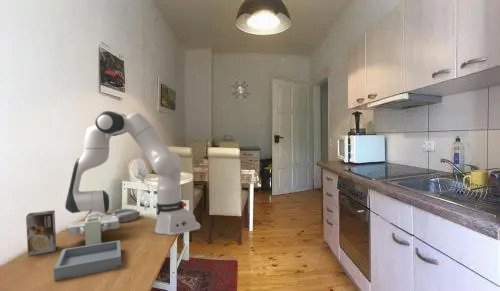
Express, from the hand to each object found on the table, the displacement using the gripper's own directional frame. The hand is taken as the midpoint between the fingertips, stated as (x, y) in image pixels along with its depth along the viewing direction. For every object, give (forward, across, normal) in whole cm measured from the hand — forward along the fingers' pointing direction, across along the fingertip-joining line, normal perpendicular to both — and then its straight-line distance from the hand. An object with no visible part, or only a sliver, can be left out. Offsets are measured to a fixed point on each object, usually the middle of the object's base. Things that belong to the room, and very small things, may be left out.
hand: (93, 231), depth 119 cm
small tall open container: (0, 0, +7) cm, 7 cm away
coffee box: (-6, -19, +7) cm, 21 cm away
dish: (-39, +14, +8) cm, 42 cm away
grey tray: (+17, 0, +7) cm, 18 cm away
